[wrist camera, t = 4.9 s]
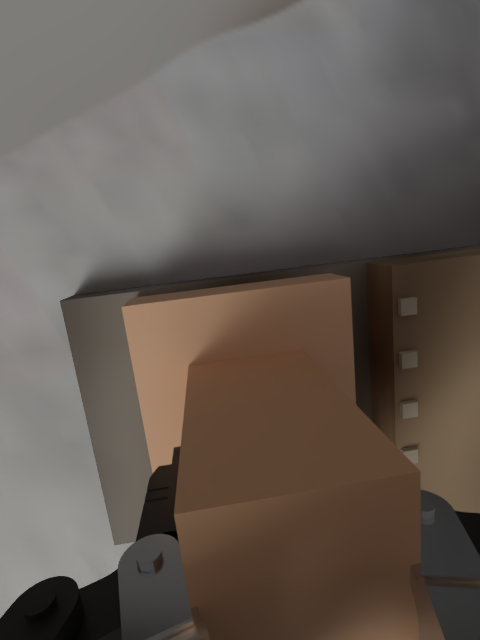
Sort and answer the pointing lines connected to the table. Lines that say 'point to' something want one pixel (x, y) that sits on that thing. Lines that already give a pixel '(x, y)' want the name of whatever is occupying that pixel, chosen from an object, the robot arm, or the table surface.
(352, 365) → the stub
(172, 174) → the table surface
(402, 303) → the board
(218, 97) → the table surface
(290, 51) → the table surface
